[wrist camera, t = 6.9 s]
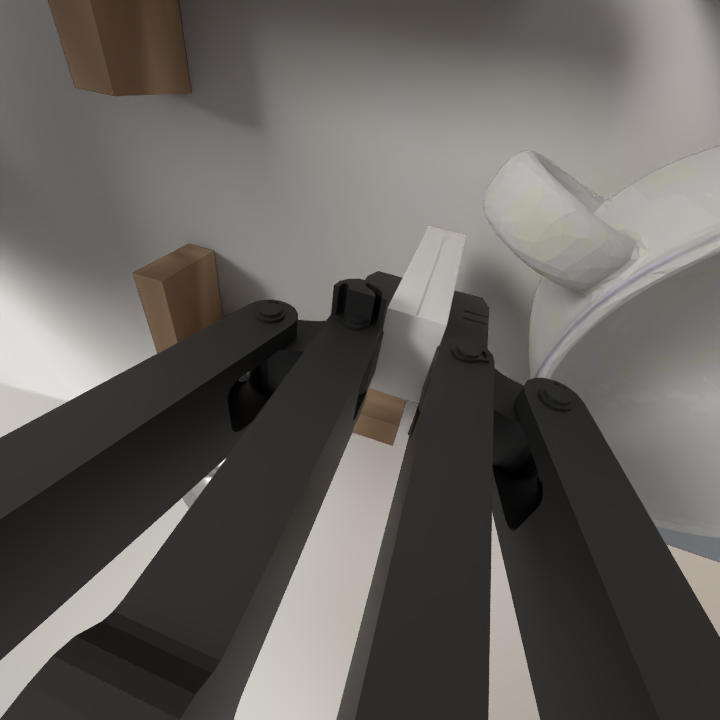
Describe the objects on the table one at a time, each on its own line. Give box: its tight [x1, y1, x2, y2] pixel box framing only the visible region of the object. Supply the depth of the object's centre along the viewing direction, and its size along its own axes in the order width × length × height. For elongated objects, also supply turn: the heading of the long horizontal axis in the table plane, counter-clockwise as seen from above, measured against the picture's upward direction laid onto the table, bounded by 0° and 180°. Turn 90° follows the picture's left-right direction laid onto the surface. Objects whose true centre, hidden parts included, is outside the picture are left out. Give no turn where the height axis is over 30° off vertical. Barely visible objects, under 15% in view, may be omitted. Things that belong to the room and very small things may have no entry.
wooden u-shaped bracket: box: [48, 0, 406, 445], centre depth 15 cm, size 14×19×4 cm
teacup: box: [483, 146, 720, 538], centre depth 11 cm, size 14×11×8 cm
